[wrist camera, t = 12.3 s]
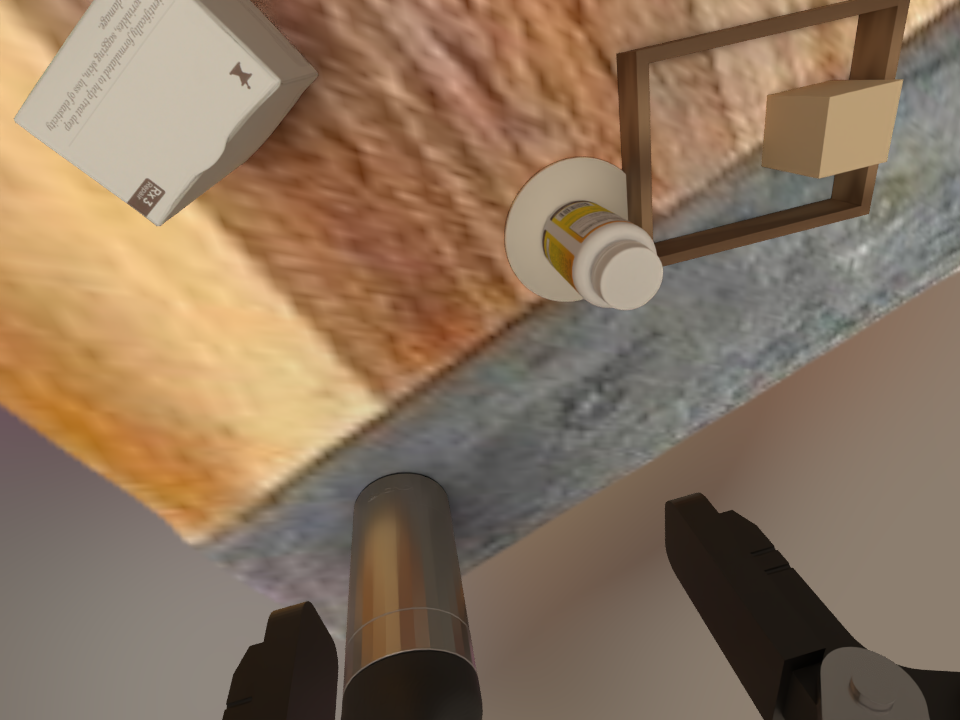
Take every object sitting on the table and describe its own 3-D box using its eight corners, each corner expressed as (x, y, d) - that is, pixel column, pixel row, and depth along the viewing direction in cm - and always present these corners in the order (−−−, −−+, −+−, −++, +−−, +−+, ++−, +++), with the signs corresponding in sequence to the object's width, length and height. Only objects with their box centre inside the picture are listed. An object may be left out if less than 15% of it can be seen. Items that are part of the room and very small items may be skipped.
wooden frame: (838, 205, 42) (868, 213, 40) (626, 259, 41) (643, 271, 39) (872, -5, 35) (912, -13, 32) (616, 53, 34) (636, 51, 31)
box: (820, 151, 40) (886, 161, 35) (761, 166, 40) (818, 178, 34) (830, 80, 37) (903, 79, 32) (766, 95, 37) (829, 97, 32)
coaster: (642, 280, 42) (646, 283, 42) (516, 313, 42) (518, 316, 41) (638, 141, 37) (641, 142, 36) (492, 176, 36) (494, 177, 36)
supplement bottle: (581, 282, 41) (637, 337, 32) (525, 250, 39) (568, 299, 30) (623, 220, 39) (695, 261, 30) (566, 183, 37) (626, 215, 28)
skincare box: (241, -11, 29) (132, -86, 16) (325, 78, 32) (289, 75, 19) (154, 100, 31) (-7, 113, 18) (241, 176, 34) (156, 233, 21)
